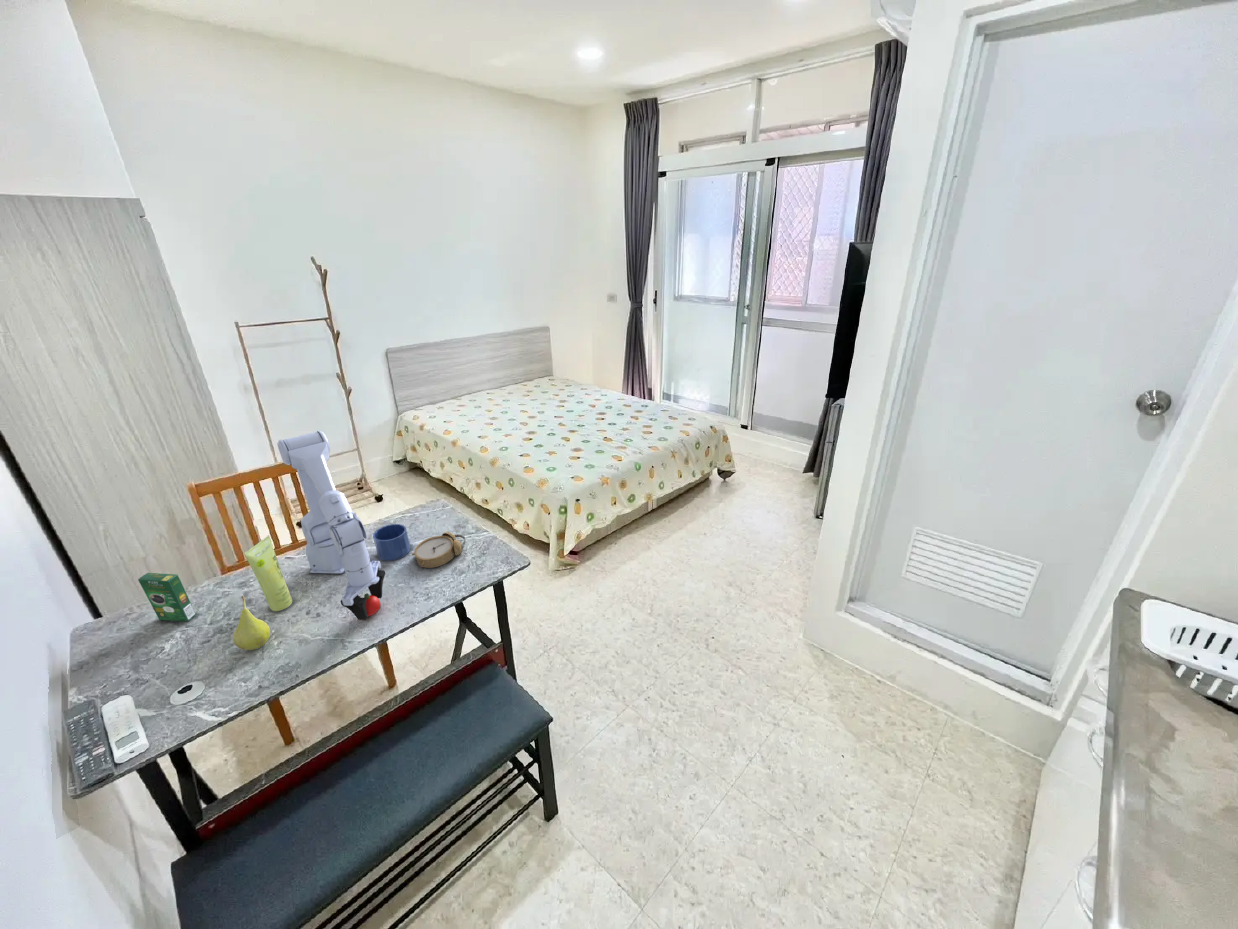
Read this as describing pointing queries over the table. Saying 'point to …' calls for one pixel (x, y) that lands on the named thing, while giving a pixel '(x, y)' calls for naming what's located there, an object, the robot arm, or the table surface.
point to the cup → (391, 542)
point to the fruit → (250, 631)
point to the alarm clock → (438, 550)
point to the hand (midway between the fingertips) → (370, 607)
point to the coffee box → (167, 596)
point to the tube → (269, 574)
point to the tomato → (372, 604)
